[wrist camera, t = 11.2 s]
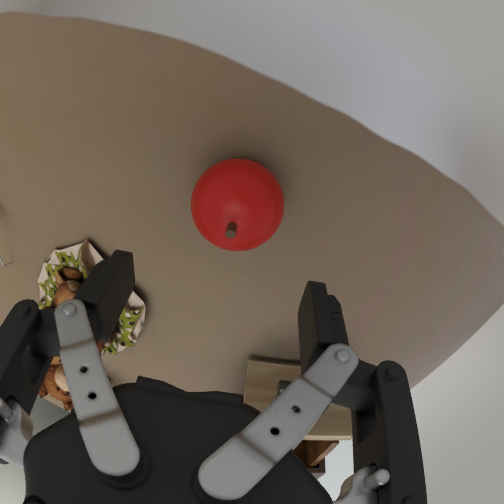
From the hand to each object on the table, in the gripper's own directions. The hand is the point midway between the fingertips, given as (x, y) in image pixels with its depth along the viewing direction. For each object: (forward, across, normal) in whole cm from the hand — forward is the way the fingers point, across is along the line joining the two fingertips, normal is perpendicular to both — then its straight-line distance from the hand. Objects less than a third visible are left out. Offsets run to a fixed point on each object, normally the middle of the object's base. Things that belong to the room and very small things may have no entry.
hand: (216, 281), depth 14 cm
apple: (+12, 0, 0) cm, 12 cm away
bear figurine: (+12, +15, +15) cm, 24 cm away
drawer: (+10, -9, +24) cm, 28 cm away
